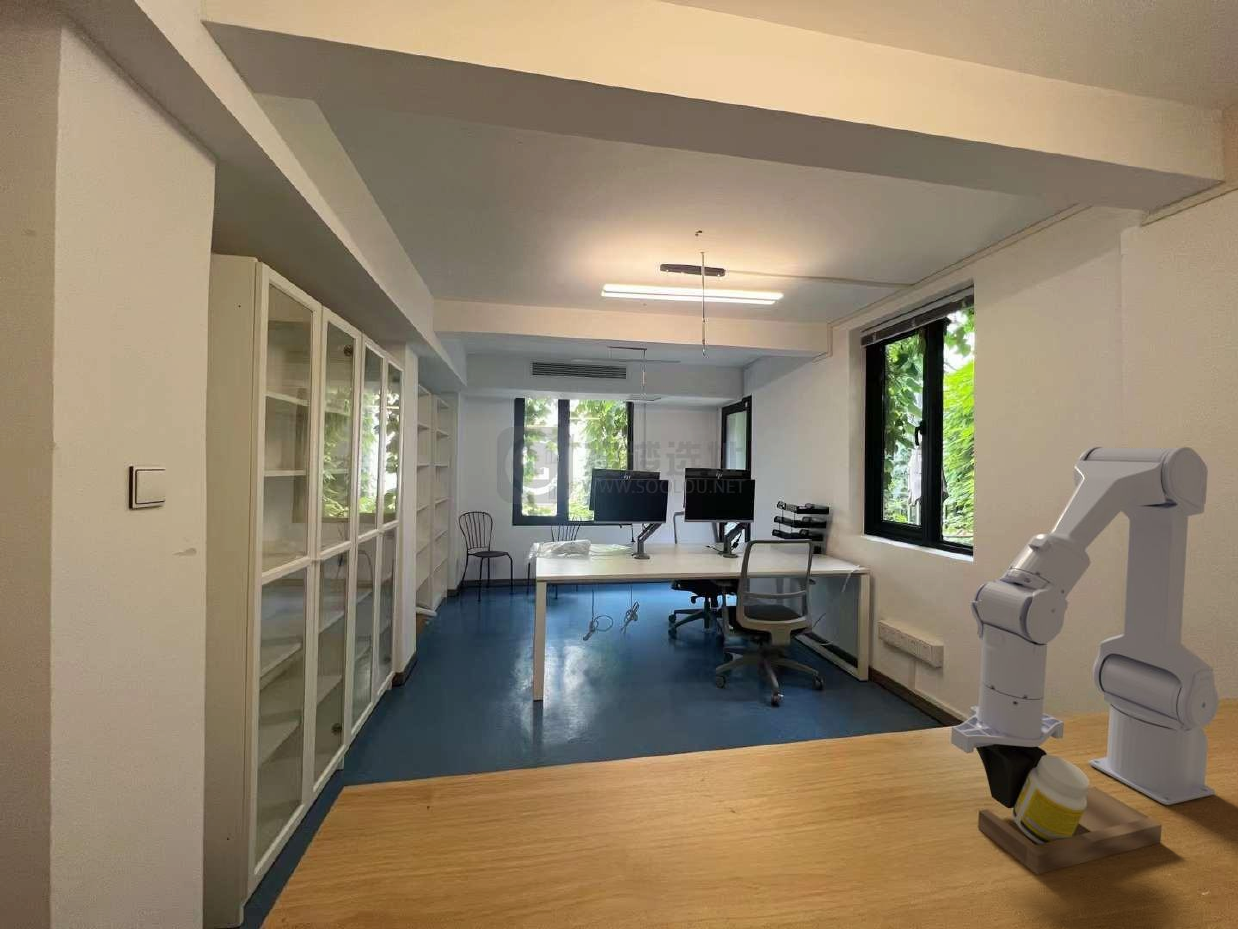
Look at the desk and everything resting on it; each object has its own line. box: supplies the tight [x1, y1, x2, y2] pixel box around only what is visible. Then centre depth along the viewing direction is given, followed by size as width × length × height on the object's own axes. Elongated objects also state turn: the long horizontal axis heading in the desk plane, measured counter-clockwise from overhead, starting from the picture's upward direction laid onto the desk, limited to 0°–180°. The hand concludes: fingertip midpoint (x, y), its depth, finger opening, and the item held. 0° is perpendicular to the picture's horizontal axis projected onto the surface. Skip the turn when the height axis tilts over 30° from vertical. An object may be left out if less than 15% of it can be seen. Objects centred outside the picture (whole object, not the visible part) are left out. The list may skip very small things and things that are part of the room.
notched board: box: [977, 786, 1163, 876], centre depth 53 cm, size 18×6×2 cm, turn 105°
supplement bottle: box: [1012, 754, 1091, 845], centre depth 52 cm, size 5×5×8 cm
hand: (1003, 801), depth 56 cm, fingers closed
